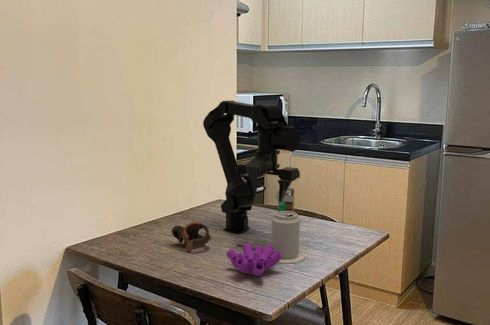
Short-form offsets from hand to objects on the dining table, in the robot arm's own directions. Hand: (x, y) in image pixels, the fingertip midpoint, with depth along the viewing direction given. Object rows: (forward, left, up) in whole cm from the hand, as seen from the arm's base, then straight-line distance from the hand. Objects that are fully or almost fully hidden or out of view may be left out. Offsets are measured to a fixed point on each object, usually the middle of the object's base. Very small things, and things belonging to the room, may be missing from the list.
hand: (267, 199), depth 147 cm
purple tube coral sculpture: (+9, -21, -13) cm, 27 cm away
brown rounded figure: (-16, -16, -13) cm, 26 cm away
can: (+11, -8, -13) cm, 19 cm away
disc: (+11, -8, -13) cm, 19 cm away
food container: (-7, +23, -13) cm, 28 cm away
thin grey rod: (0, -8, -13) cm, 15 cm away
